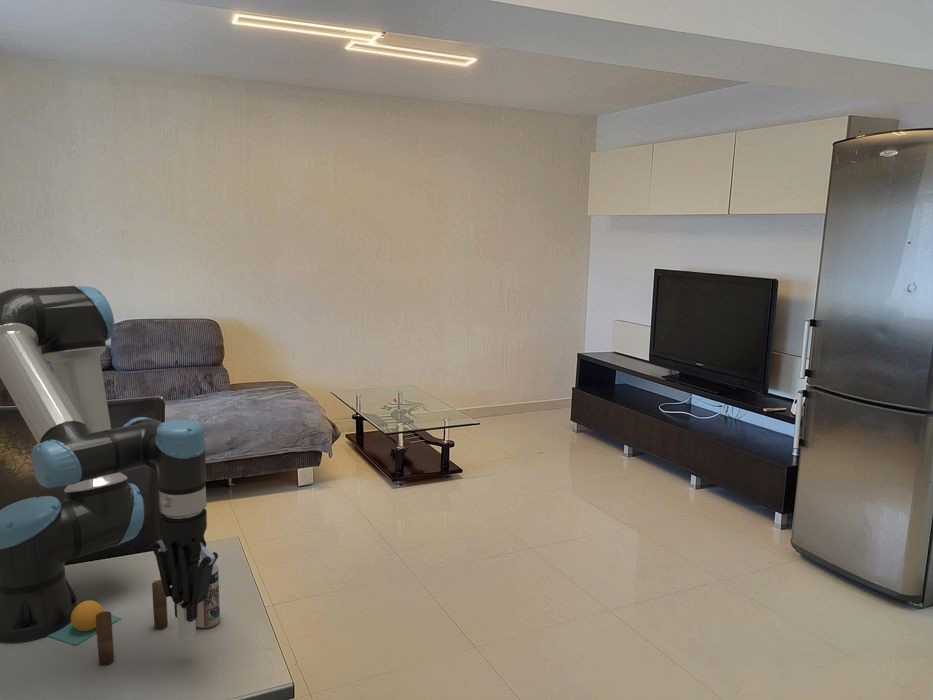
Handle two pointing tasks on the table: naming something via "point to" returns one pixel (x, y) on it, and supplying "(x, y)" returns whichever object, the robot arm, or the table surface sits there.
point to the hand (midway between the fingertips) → (186, 635)
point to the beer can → (210, 603)
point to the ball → (85, 615)
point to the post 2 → (159, 606)
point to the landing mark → (76, 633)
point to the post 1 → (104, 638)
